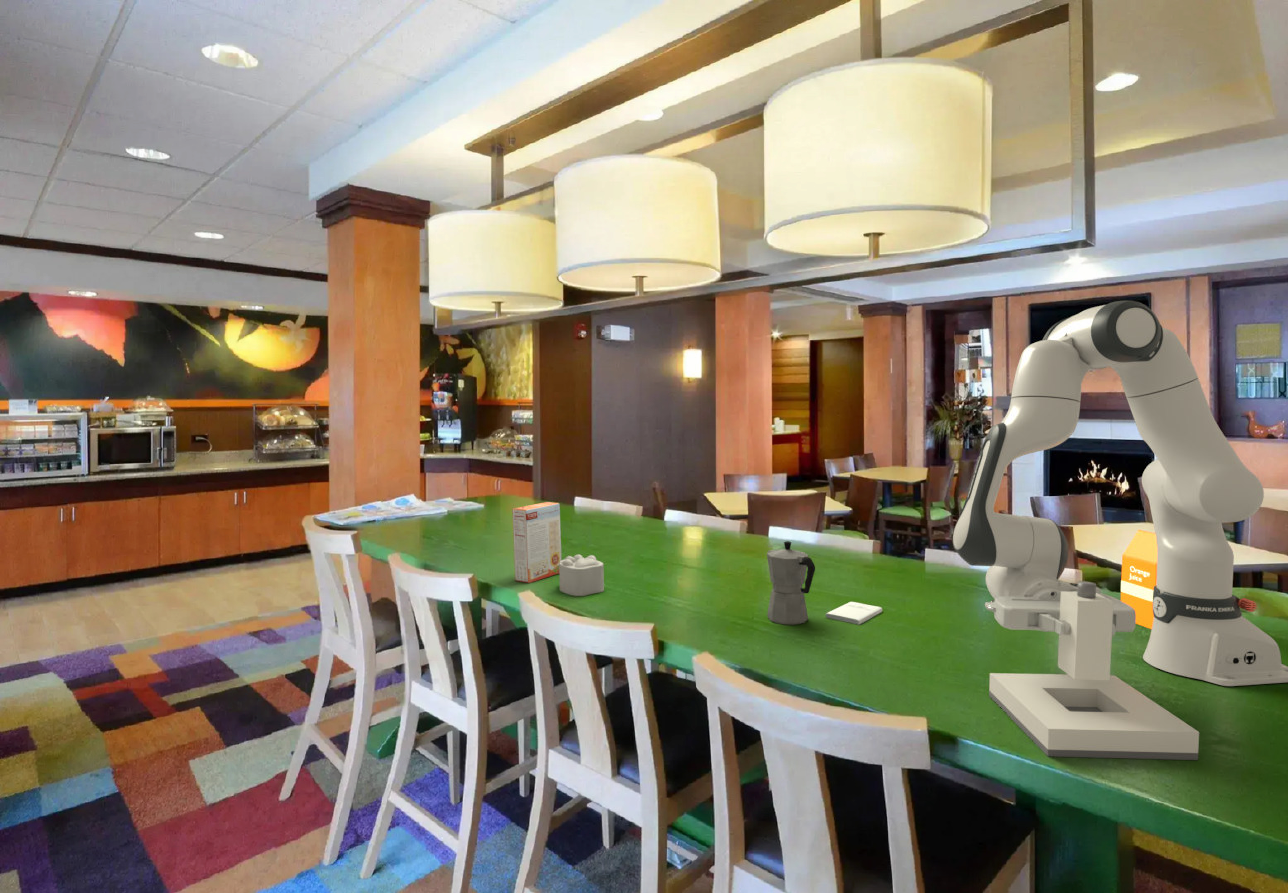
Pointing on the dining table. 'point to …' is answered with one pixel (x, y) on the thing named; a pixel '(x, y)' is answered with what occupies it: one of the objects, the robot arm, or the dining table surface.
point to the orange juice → (1140, 576)
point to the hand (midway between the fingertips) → (1088, 630)
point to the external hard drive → (854, 613)
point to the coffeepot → (789, 585)
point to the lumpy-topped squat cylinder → (581, 575)
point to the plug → (1086, 633)
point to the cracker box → (536, 541)
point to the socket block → (1092, 718)
